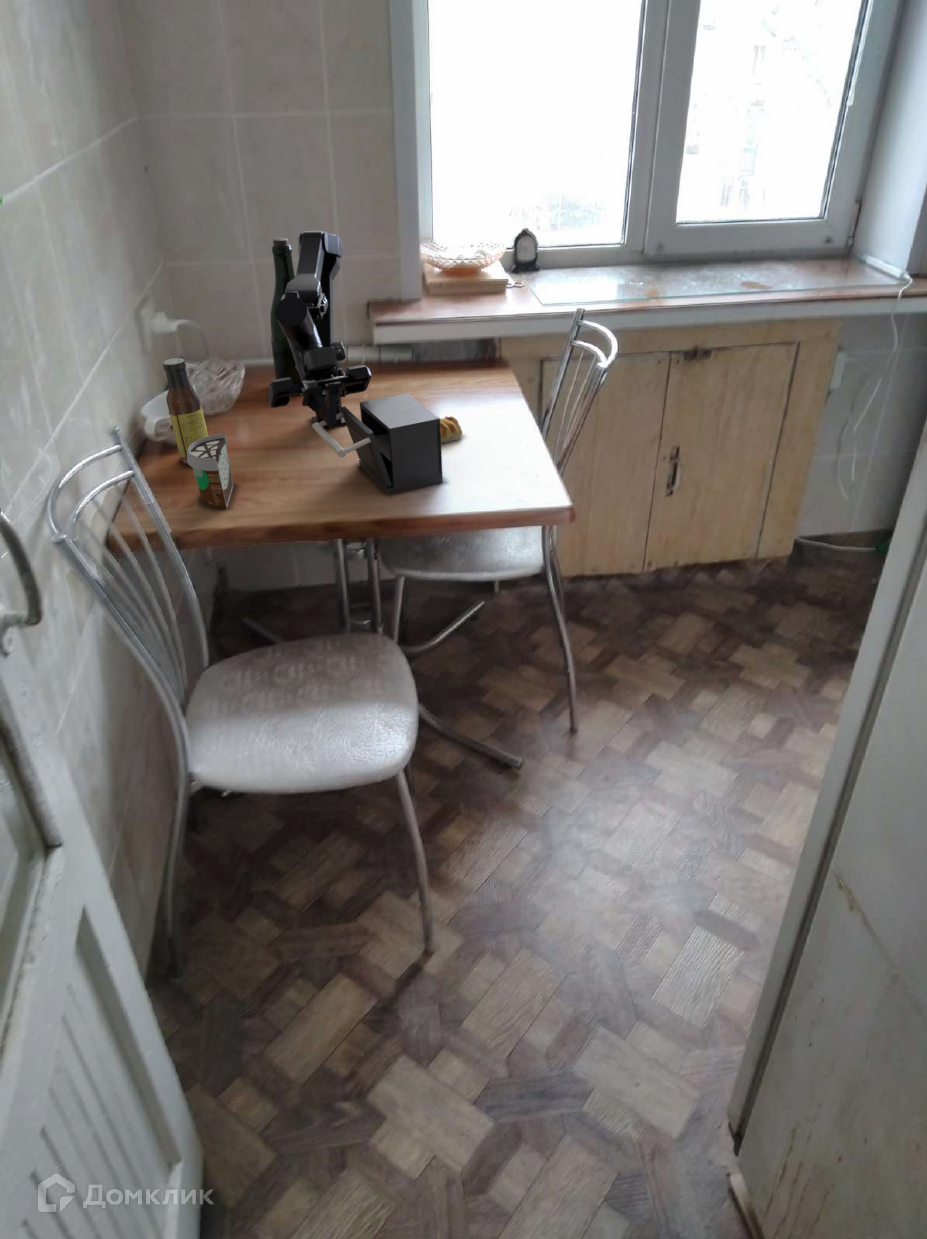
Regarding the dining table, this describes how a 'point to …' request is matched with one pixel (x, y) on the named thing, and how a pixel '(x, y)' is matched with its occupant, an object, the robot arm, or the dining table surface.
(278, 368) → the green wine bottle
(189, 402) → the sauce bottle
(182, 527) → the dining table surface
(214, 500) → the food container
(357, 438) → the oven door
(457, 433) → the pastry
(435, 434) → the oven
